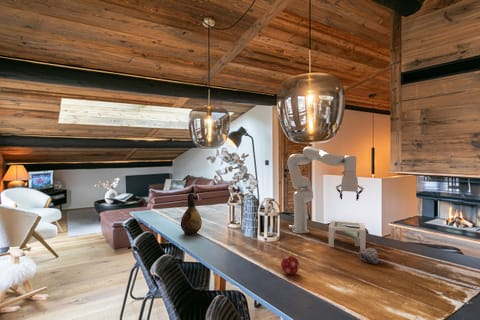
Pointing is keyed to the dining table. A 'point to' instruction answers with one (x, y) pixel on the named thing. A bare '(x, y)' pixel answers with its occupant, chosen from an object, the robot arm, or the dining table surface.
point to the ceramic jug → (191, 218)
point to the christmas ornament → (290, 264)
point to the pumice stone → (369, 256)
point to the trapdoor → (347, 231)
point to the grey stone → (357, 241)
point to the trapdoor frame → (361, 230)
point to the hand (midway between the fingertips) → (349, 199)
